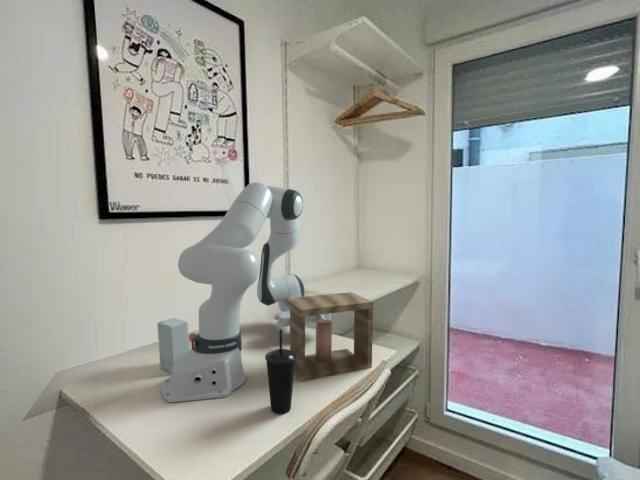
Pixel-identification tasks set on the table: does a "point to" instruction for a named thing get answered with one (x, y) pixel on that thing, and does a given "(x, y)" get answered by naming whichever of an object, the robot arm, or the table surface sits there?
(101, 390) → the table surface
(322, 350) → the peach tapered cylinder
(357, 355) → the under counter shelf
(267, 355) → the drinking cup
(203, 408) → the table surface
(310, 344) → the table surface
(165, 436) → the table surface
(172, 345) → the skincare box
